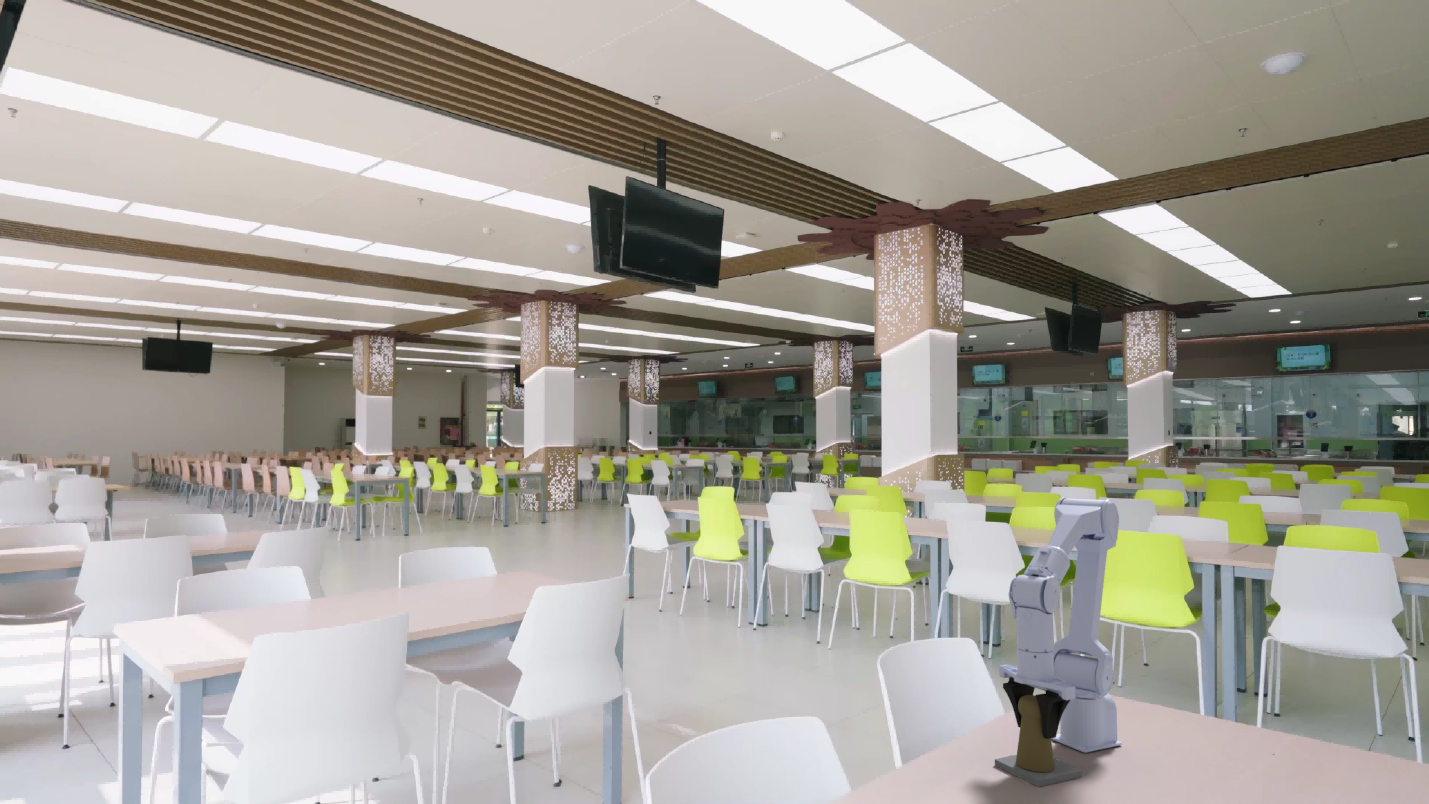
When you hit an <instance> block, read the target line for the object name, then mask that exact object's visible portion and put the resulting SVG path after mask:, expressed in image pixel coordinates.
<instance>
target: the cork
mask: <svg viewBox="0 0 1429 804" xmlns="http://www.w3.org/2000/svg"><path fill="white" fill-rule="evenodd" d="M1018 710H1019V713H1020V714H1021V716H1022V718H1021V726H1020V727H1019V735H1018V743H1017V750H1016V755H1017V757H1016V764H1017V765H1018V766H1020V767H1021V768H1024V769H1027V770H1030V771H1036V772H1050V771H1053V770H1054V769H1055V764H1054V758H1055V757H1054V753H1053V752H1054V751H1053V744H1052V739H1051V738H1050V739H1046V738H1044V736H1043V732H1042V718H1041V712H1040V708H1039V705H1038V702H1037V699H1036V694H1033V695H1026V696H1023V697H1021V698H1020V699H1019V702H1018Z"/></svg>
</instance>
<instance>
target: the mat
mask: <svg viewBox="0 0 1429 804" xmlns="http://www.w3.org/2000/svg"><path fill="white" fill-rule="evenodd" d="M1016 757H1017V754H1014V755H1013V754H1012V755H1007V756H1004V757H999V758H995V759H994V766H996V767H997V768H1000V769H1001V770H1003V769H1004V771H1006V772H1007V773H1010V774H1012V775H1013V776H1016V777H1017V778H1020V779H1021V780H1023V781H1026V782H1027V783H1030V784H1032V785H1033V786H1036V787H1038V788H1040V787H1044V786H1045V787H1046V786H1048V785H1053V784H1057V783H1061V782H1066V781H1069V780H1073V779H1078V778H1082V777H1083V770H1082V769H1080V768H1077V767H1075V766H1073V765H1071V764H1069V763H1067V762H1064V761H1062V760H1059V759H1057V758H1055V757H1054V764H1055V769H1054V770H1053V771H1050V772H1036V771H1030V770H1027V769H1024V768H1021V767H1020V766H1018V765H1017V764H1016Z"/></svg>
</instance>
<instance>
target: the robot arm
mask: <svg viewBox="0 0 1429 804" xmlns="http://www.w3.org/2000/svg"><path fill="white" fill-rule="evenodd" d="M1053 517H1054V522H1055V526H1054V530H1053V533H1052V534H1051V537H1050V539H1049V542H1048V544H1047V545H1043V546H1041V547H1039V548H1038V549H1037V550H1036V552H1035V554H1034V556H1033V557H1032V559H1031V560H1030V562H1029V564H1028V566H1027V568H1026V569H1025V570H1024V573H1023V574H1019V575H1017V577H1016V576H1015V577H1014V578H1013V579H1011V582H1010V585H1009V591H1008V599H1009V604H1010V606H1011V609H1012V610H1011V611H1012V617H1013V619H1014V620H1015V628H1016V629H1015V631H1016V666H1015V665H1011V664H1008V663H1007V664H1002V665H999V666H998V668H999V669H998V670H999V677H1000V678H1003V679H1005V678H1007V679H1008V681H1007V682H1004V683H1002V688H1003V690H1004V692H1005V693H1006V695H1007V697H1008V699H1009V701H1010V704H1011V707H1012V710H1013V713H1014V716H1015V720H1016V724H1017V727H1018V728H1020V726H1021V718H1022V716H1021V714H1020V713H1019V710H1018V702H1019V699H1020V698H1021V697H1023V696H1026V695H1034V691H1035V689H1038V690H1041V691H1044V692H1045V693H1039V694H1035V696H1036V699H1037V702H1038V705H1039V708H1040V712H1041V718H1042V732H1043V736H1044V738H1046V739H1050V738H1051V741H1052V740H1053V741H1055V742H1058V743H1060V744H1062V745H1064V746H1066V747H1070V748H1072V749H1073V750H1074V749H1075V750H1077V751H1078V752H1080V753H1081V752H1082V753H1084V754H1085V753H1091V752H1094V751H1099V750H1105V749H1109V748H1112V747H1118V746H1122V741H1120V740H1118V711H1117V705H1116V702H1115V699H1113V697H1112V696H1111V694H1109V693H1111V691H1112V688H1113V686H1114V679H1115V675H1114V674H1115V673H1114V667H1113V665H1114V664H1113V662H1114V659H1113V654H1112V653H1111V651H1110V650H1109V649H1107V647H1105V646H1104V644H1103V643H1101V642H1100V640H1099V639H1098V638H1099V630H1100V622H1101V621H1100V620H1101V611H1102V600H1103V592H1104V583H1105V572H1106V564H1107V563H1106V562H1107V557H1108V551H1109V550H1110V549H1113V548H1115V547H1116V545H1117V540H1118V537H1119V535H1118V533H1119V525H1120V515H1119V510H1118V507H1117V505H1116V503H1115V502H1114V501H1113V500H1112V499H1092V498H1091V499H1088V498H1068V497H1065V496H1063V497H1060V498H1059V499H1058V500H1057V502H1056V503H1055V506H1054V516H1053ZM1074 548H1075V549H1076V550H1077V556H1076V565H1075V566H1076V567H1075V574H1074V584H1073V592H1072V602H1071V611H1070V618H1069V619H1070V620H1069V628H1068V634H1067V635H1066V636H1064V637H1062V638H1060V639H1058V640H1057V641H1056V642H1055V641H1054V626H1053V625H1054V623H1053V622H1054V620H1053V619H1054V618H1053V616H1054V615H1053V613H1054V612H1055V611H1056V610H1057V608H1058V606H1059V599H1060V593H1061V591H1062V588H1061V584H1062V581H1063V579H1064V577H1065V576H1066V574H1067V572H1068V570H1069V569H1070V567H1071V561H1070V559H1069V555H1070V554H1071V552H1072V551H1073V550H1074ZM1078 654H1079V655H1078ZM1085 655H1086V656H1085ZM1090 656H1091V657H1090ZM1095 657H1096V658H1095ZM1059 727H1060V728H1059ZM1058 730H1059V731H1060V733H1058Z"/></svg>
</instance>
